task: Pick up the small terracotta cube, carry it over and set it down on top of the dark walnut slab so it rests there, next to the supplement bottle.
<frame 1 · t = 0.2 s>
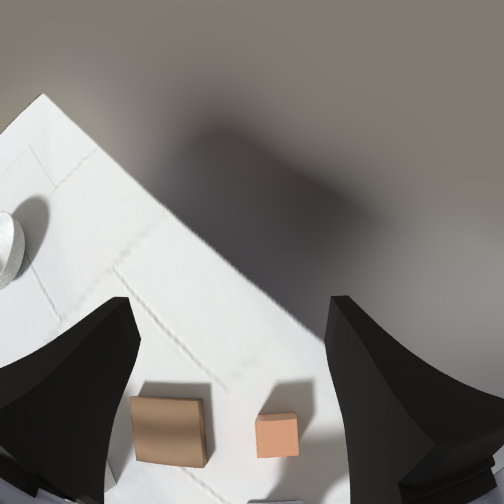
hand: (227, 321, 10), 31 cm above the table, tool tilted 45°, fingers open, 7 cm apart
cereal bowl: (12, 260, 49), on the table
walnut slab: (172, 429, 36), on the table
terracotta cube: (277, 430, 35), on the table
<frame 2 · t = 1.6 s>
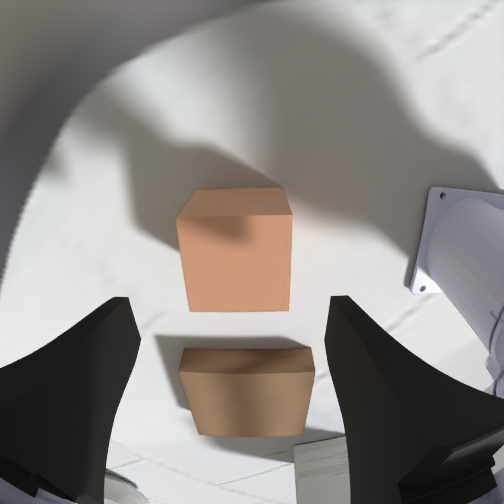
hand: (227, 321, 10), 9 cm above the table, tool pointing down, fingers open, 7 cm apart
cereal bowl: (116, 480, 43), on the table
walnut slab: (249, 384, 25), on the table
terracotta cube: (241, 227, 18), on the table
supplement box: (323, 449, 31), on the table
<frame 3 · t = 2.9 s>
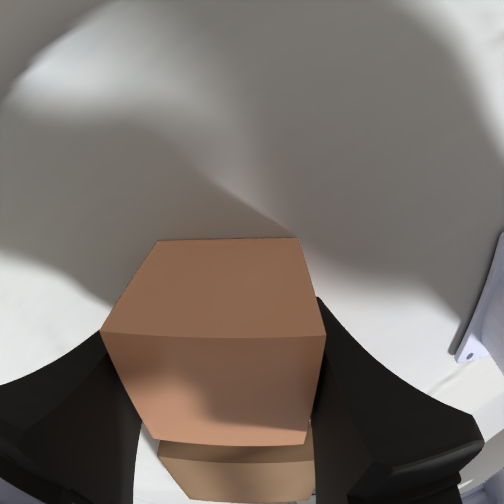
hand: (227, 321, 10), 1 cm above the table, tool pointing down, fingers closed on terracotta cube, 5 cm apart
walnut slab: (246, 453, 19), on the table
terracotta cube: (230, 298, 12), on the table, touching gripper
supplement box: (329, 496, 25), on the table
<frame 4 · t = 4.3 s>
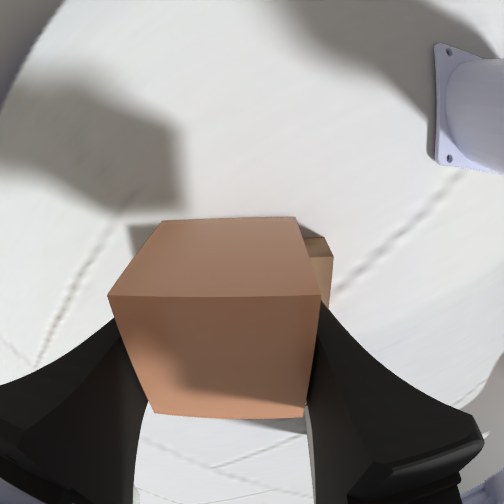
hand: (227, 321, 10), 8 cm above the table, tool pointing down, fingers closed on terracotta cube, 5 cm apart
walnut slab: (247, 303, 21), on the table
terracotta cube: (231, 277, 12), point 6 cm above the table, touching gripper
supplement box: (341, 413, 27), on the table
when the fingers open (5 cm above the table, at t = 5.7 s): terracotta cube stays where it is, resting on walnut slab.
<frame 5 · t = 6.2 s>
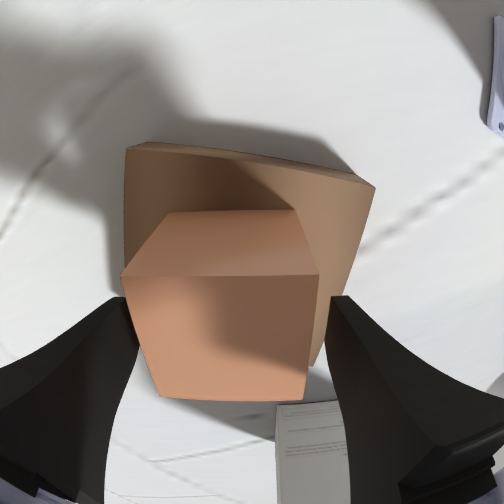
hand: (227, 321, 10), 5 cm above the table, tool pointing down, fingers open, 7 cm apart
walnut slab: (237, 248, 16), on the table, touching terracotta cube
terracotta cube: (233, 267, 13), point 2 cm above the table, touching walnut slab
supplement box: (317, 421, 22), on the table
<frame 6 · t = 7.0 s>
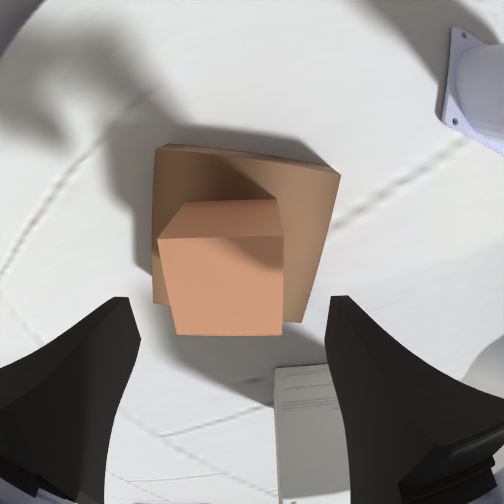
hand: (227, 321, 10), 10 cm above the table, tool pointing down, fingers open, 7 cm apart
walnut slab: (238, 226, 20), on the table, touching terracotta cube
terracotta cube: (232, 242, 17), point 2 cm above the table, touching walnut slab
supplement box: (311, 386, 27), on the table
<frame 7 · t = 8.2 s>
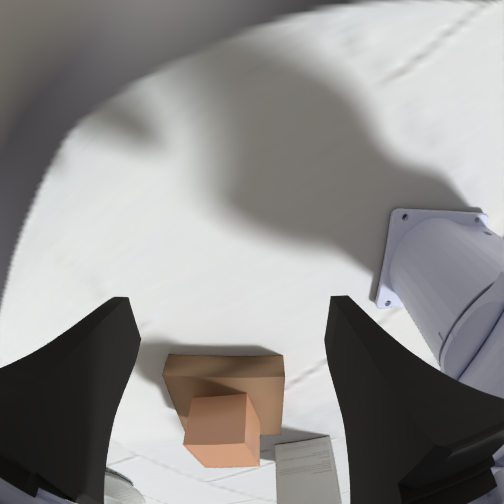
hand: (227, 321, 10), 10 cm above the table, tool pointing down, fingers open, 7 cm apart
cereal bowl: (113, 476, 45), on the table
walnut slab: (229, 386, 27), on the table
terracotta cube: (227, 411, 24), point 2 cm above the table
supplement box: (305, 449, 33), on the table
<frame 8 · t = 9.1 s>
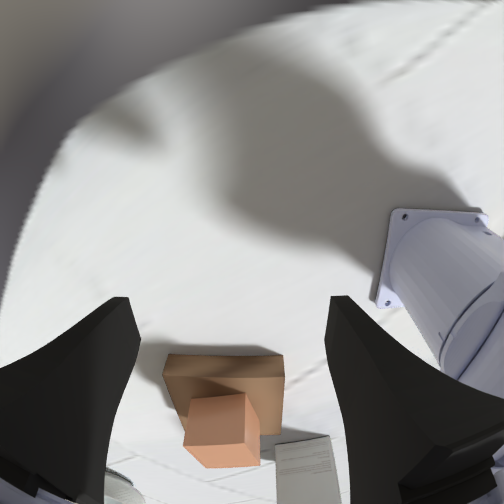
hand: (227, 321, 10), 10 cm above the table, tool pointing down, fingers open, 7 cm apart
cereal bowl: (113, 476, 45), on the table
walnut slab: (229, 386, 27), on the table
terracotta cube: (226, 411, 24), point 2 cm above the table
supplement box: (305, 449, 33), on the table
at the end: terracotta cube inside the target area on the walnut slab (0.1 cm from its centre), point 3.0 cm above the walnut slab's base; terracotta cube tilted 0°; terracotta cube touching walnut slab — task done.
